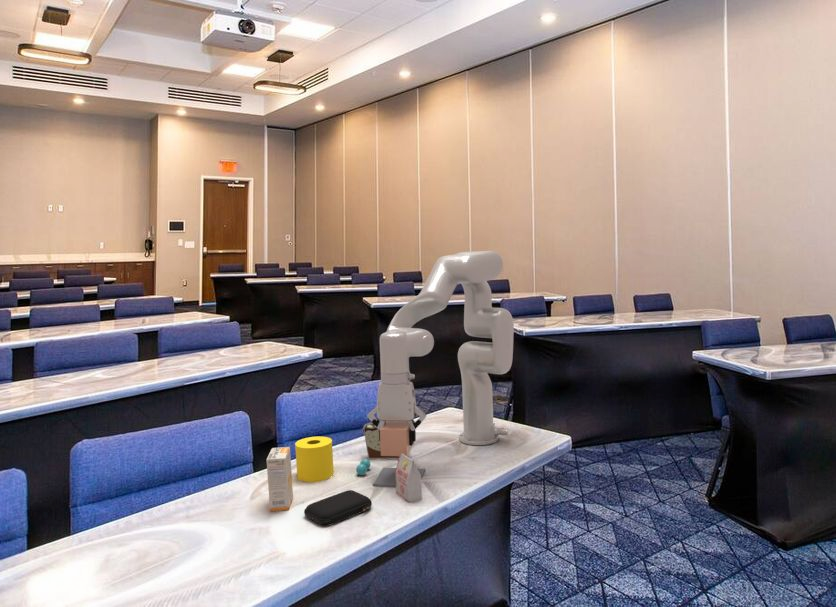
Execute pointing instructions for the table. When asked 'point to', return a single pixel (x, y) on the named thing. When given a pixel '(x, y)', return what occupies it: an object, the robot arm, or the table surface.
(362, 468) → the teal marble
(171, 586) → the table surface
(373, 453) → the food container
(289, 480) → the supplement box
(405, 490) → the tea bag
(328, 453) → the yellow toilet paper roll
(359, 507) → the carrying case or bag
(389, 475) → the slate coaster
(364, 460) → the teal marble
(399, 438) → the terracotta block
